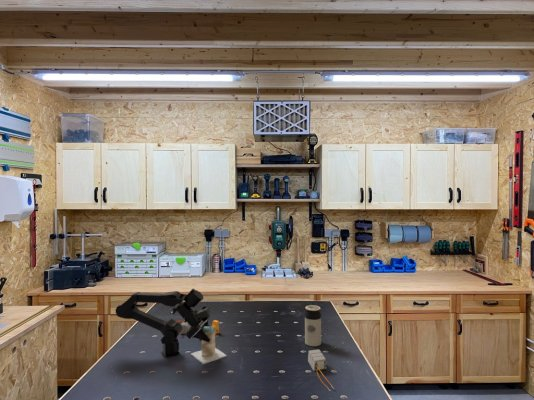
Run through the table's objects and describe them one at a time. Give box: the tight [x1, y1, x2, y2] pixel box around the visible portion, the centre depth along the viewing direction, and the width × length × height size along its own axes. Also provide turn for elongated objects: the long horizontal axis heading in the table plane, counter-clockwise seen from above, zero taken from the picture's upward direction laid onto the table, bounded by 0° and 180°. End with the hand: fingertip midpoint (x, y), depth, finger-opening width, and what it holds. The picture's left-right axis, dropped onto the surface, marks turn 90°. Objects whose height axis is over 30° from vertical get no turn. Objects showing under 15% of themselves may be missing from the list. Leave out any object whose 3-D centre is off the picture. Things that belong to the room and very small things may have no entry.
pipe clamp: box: [211, 319, 220, 335], centre depth 182 cm, size 12×4×6 cm, turn 144°
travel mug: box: [304, 304, 322, 347], centre depth 172 cm, size 8×8×18 cm
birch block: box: [201, 325, 216, 357], centre depth 159 cm, size 5×5×12 cm
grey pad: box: [190, 347, 227, 365], centre depth 159 cm, size 12×12×1 cm
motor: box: [178, 319, 191, 335], centre depth 192 cm, size 23×22×5 cm
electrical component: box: [307, 349, 335, 390], centre depth 141 cm, size 24×6×5 cm, turn 16°
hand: (211, 338), depth 159 cm, fingers open, 6 cm apart
